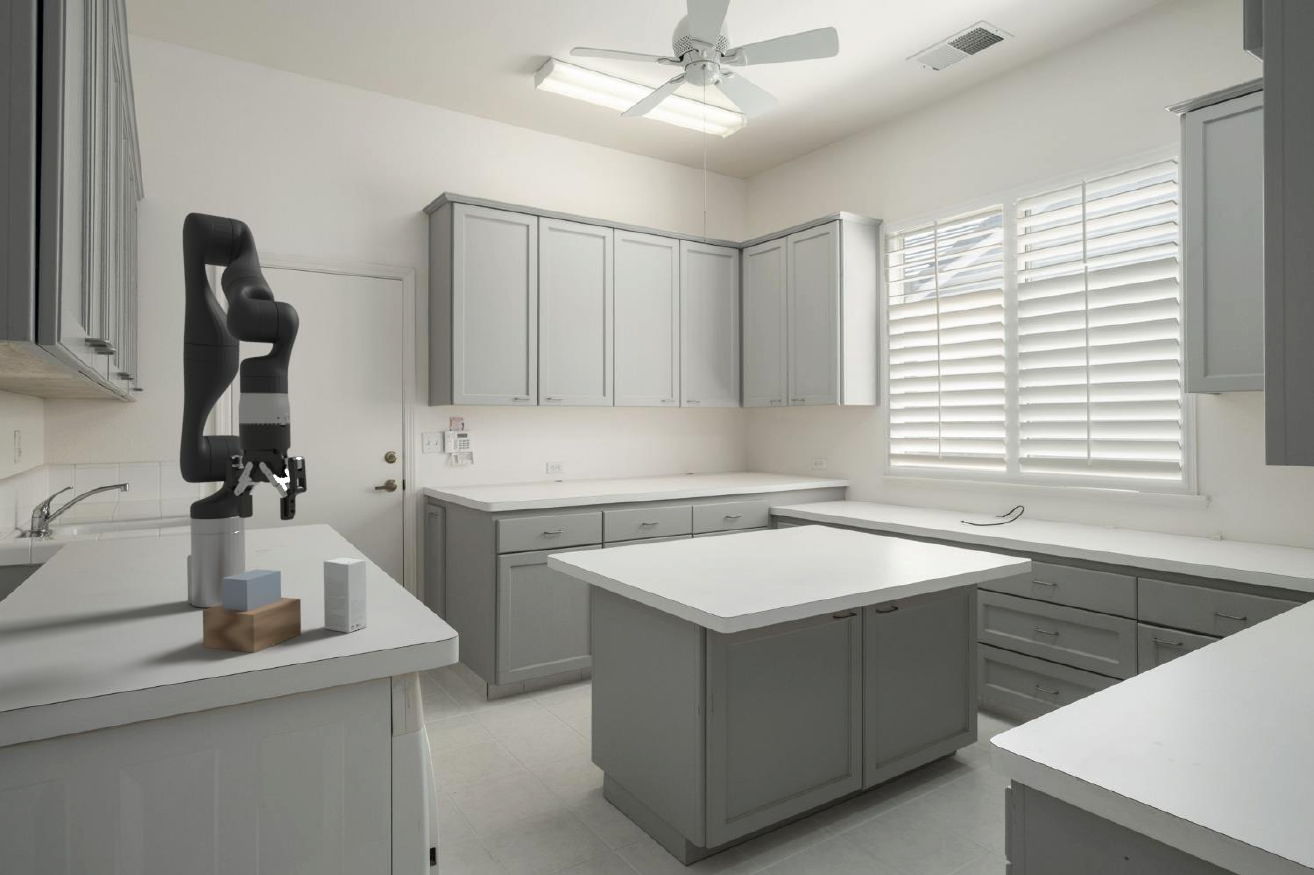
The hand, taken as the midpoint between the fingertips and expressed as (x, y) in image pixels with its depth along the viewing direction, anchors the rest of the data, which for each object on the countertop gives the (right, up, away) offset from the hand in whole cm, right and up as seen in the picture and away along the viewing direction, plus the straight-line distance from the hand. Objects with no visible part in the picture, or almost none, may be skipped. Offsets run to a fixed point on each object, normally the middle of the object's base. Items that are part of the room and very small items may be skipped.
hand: (266, 518), depth 121 cm
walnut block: (-2, -20, 0) cm, 20 cm away
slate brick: (-2, -14, 0) cm, 14 cm away
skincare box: (+10, -20, +7) cm, 24 cm away
